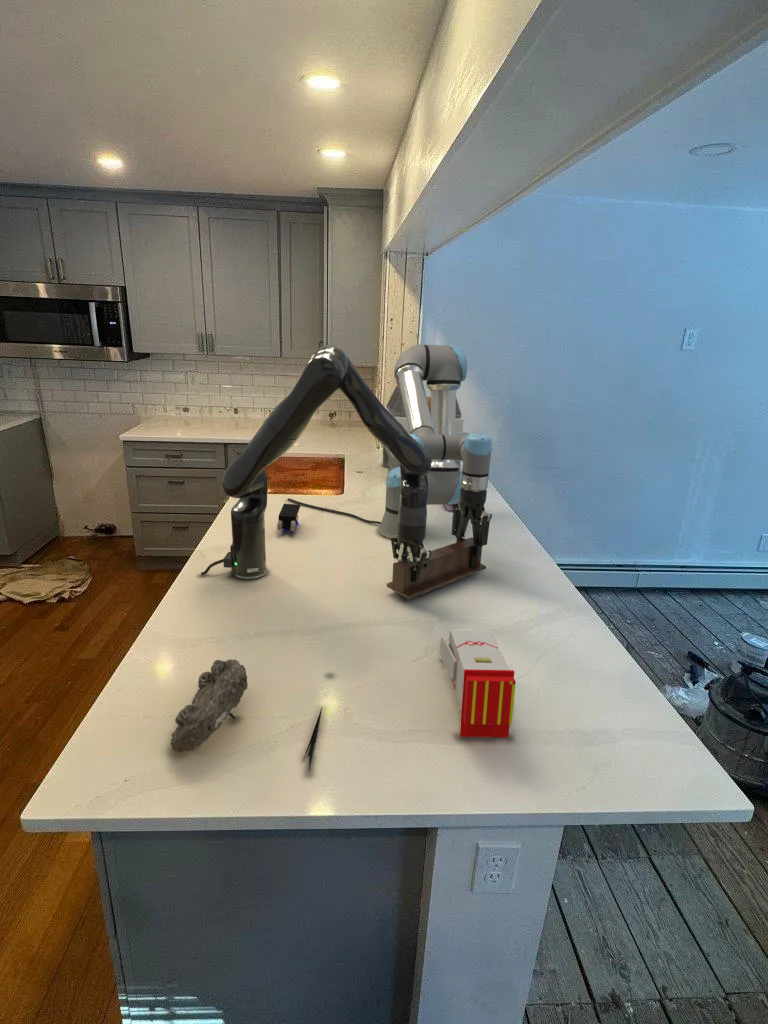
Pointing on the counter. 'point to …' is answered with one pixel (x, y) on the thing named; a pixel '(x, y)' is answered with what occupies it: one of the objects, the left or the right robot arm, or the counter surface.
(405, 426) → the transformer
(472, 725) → the toy
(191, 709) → the fossil
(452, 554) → the rail
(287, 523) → the figurine character
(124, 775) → the counter surface
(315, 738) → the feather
